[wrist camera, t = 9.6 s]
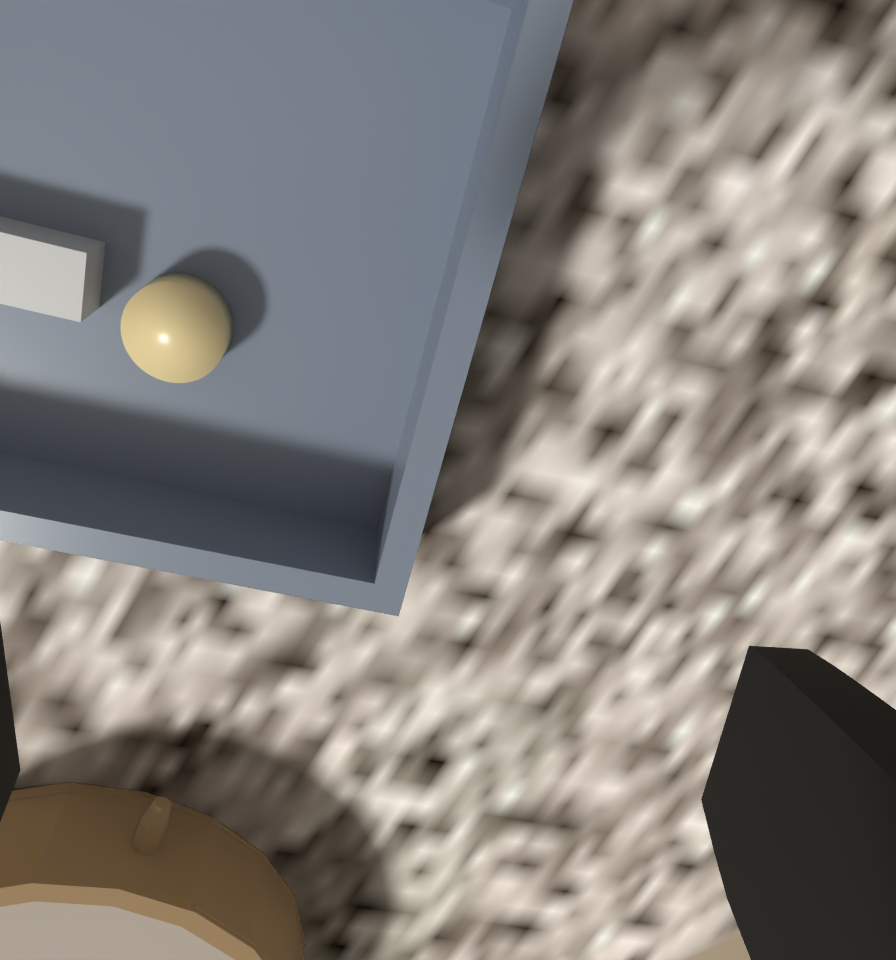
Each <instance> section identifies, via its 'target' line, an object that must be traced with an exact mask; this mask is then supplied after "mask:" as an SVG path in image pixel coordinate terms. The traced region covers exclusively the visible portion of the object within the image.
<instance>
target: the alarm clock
mask: <svg viewBox="0 0 896 960" xmlns="http://www.w3.org/2000/svg"><path fill="white" fill-rule="evenodd" d="M304 946H305V937H304V933H303V929H302V924H301V920H300V916H299V911H298V907H297V903H296V899H295V895H294V894H293V892H292V891H291V890H290V888H289V887H288V886H287V884H286V883H285V881H284V880H283V879H282V877H281V876H280V875H279V873H278V872H277V871H276V869H275V868H274V867H273V865H272V864H271V863H270V861H269V860H268V858H267V857H266V856H265V854H264V853H263V852H262V851H260V850H259V849H257V848H256V847H254V846H253V845H252V844H250V843H249V842H247V841H246V840H244V839H243V838H242V837H240V836H239V835H237V834H236V833H235V832H233V831H232V830H230V829H229V828H227V827H226V826H225V825H223V824H222V823H220V822H219V821H218V820H216V819H215V818H213V817H212V816H209V815H206V814H204V813H201V812H198V811H196V810H193V809H190V808H188V807H185V806H182V805H179V804H177V803H174V802H171V801H170V800H169V799H168V798H166V797H162V796H160V797H158V796H155V795H153V794H150V793H147V792H142V791H134V790H127V789H119V788H111V787H103V786H96V785H88V784H80V783H72V782H71V783H62V784H52V785H46V786H39V787H32V788H26V789H19V790H12V793H11V795H10V798H9V801H8V803H7V806H6V809H5V811H4V814H3V816H2V819H1V822H0V960H302V955H303V950H304Z"/></svg>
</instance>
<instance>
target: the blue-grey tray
mask: <svg viewBox="0 0 896 960" xmlns="http://www.w3.org/2000/svg"><path fill="white" fill-rule="evenodd" d="M573 1H574V0H0V540H2V541H7V542H13V543H18V544H23V545H28V546H34V547H39V548H44V549H49V550H54V551H60V552H65V553H70V554H75V555H81V556H86V557H91V558H96V559H102V560H107V561H112V562H117V563H123V564H128V565H133V566H138V567H144V568H149V569H154V570H159V571H165V572H170V573H175V574H180V575H185V576H191V577H196V578H201V579H206V580H212V581H217V582H222V583H227V584H233V585H238V586H243V587H248V588H254V589H259V590H264V591H269V592H275V593H280V594H285V595H290V596H295V597H301V598H306V599H311V600H316V601H322V602H327V603H332V604H337V605H343V606H348V607H353V608H358V609H364V610H369V611H374V612H379V613H385V614H390V615H395V616H399V613H400V609H401V606H402V602H403V599H404V595H405V592H406V588H407V585H408V581H409V578H410V574H411V571H412V567H413V564H414V560H415V557H416V553H417V550H418V546H419V543H420V539H421V535H422V532H423V528H424V525H425V521H426V518H427V514H428V511H429V507H430V504H431V500H432V497H433V493H434V490H435V486H436V483H437V479H438V476H439V472H440V469H441V465H442V462H443V458H444V455H445V451H446V448H447V444H448V441H449V437H450V433H451V430H452V426H453V423H454V419H455V416H456V412H457V409H458V405H459V402H460V398H461V395H462V391H463V388H464V384H465V381H466V377H467V374H468V370H469V367H470V363H471V360H472V356H473V353H474V349H475V346H476V342H477V339H478V335H479V331H480V328H481V324H482V321H483V317H484V314H485V310H486V307H487V303H488V300H489V296H490V293H491V289H492V286H493V282H494V279H495V275H496V272H497V268H498V265H499V261H500V258H501V254H502V251H503V247H504V244H505V240H506V237H507V233H508V229H509V226H510V222H511V219H512V215H513V212H514V208H515V205H516V201H517V198H518V194H519V191H520V187H521V184H522V180H523V177H524V173H525V170H526V166H527V163H528V159H529V156H530V152H531V149H532V145H533V142H534V138H535V135H536V131H537V127H538V124H539V120H540V117H541V113H542V110H543V106H544V103H545V99H546V96H547V92H548V89H549V85H550V82H551V78H552V75H553V71H554V68H555V64H556V61H557V57H558V54H559V50H560V47H561V43H562V40H563V36H564V33H565V29H566V25H567V22H568V18H569V15H570V11H571V8H572V4H573Z"/></svg>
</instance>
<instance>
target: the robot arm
mask: <svg viewBox="0 0 896 960" xmlns="http://www.w3.org/2000/svg"><path fill="white" fill-rule="evenodd" d="M19 772H20V764H19V757H18V749H17V742H16V735H15V727H14V720H13V712H12V705H11V698H10V690H9V683H8V676H7V668H6V661H5V653H4V646H3V639H2V631H1V624H0V822H1V819H2V816H3V814H4V811H5V809H6V806H7V803H8V801H9V798H10V795H11V793H12V790H13V788H14V785H15V782H16V780H17V777H18V775H19ZM701 800H702V804H703V808H704V812H705V816H706V820H707V824H708V828H709V832H710V836H711V840H712V845H713V849H714V853H715V856H716V860H717V863H718V867H719V871H720V874H721V878H722V881H723V885H724V888H725V892H726V896H727V899H728V902H729V904H730V907H731V909H732V912H733V915H734V917H735V920H736V923H737V925H738V928H739V930H740V933H741V935H742V938H743V940H744V943H745V945H746V948H747V950H748V953H749V955H750V958H751V960H896V710H895V709H894V708H892V707H891V706H890V705H888V704H887V703H885V702H884V701H883V700H881V699H880V698H879V697H877V696H876V695H874V694H873V693H872V692H870V691H869V690H868V689H866V688H865V687H863V686H862V685H861V684H859V683H858V682H856V681H855V680H854V679H852V678H851V677H849V676H848V675H846V674H845V673H844V672H842V671H841V670H839V669H838V668H836V667H835V666H833V665H832V664H830V663H829V662H827V661H826V660H824V659H822V658H821V657H819V656H818V655H816V654H814V653H813V652H811V651H809V650H808V649H792V648H776V647H759V646H749V648H748V651H747V654H746V657H745V661H744V664H743V667H742V670H741V674H740V677H739V680H738V683H737V686H736V690H735V693H734V696H733V699H732V703H731V706H730V709H729V712H728V715H727V719H726V722H725V725H724V728H723V732H722V735H721V738H720V741H719V744H718V748H717V751H716V754H715V757H714V761H713V764H712V767H711V770H710V773H709V777H708V780H707V783H706V786H705V789H704V793H703V796H702V799H701Z"/></svg>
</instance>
